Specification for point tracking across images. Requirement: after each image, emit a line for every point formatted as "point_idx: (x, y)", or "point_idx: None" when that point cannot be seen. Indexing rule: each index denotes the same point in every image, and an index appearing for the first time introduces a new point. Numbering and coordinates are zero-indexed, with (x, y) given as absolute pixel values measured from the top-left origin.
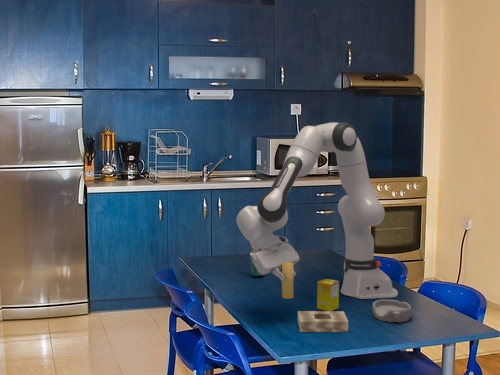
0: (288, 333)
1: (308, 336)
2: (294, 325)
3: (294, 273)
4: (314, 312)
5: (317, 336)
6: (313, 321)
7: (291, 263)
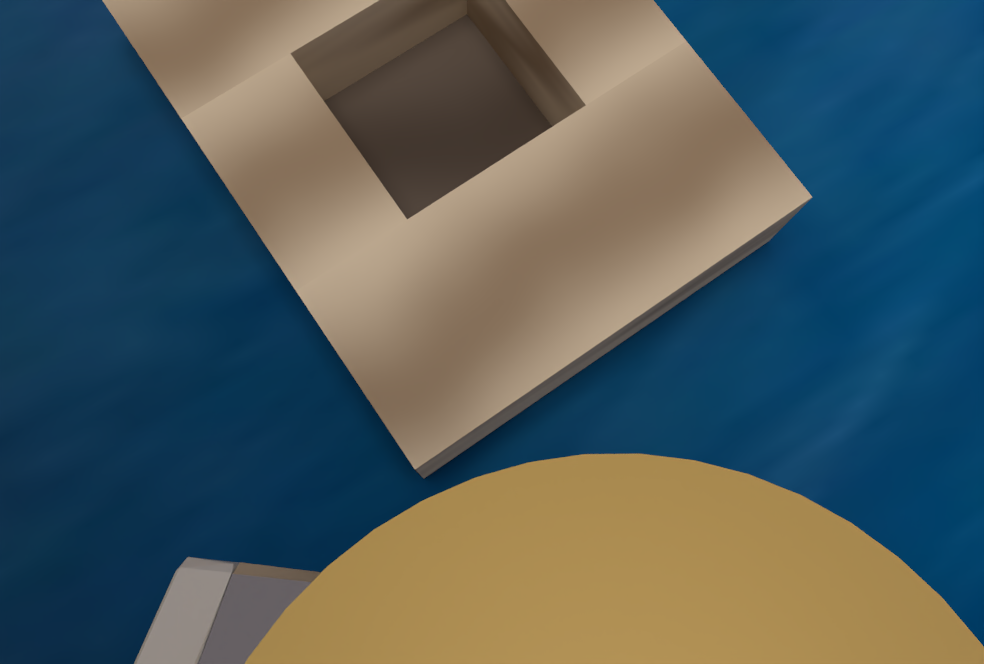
0: (897, 320)
1: (835, 98)
2: (605, 415)
3: (231, 588)
4: (340, 241)
5: (773, 26)
6: (697, 70)
7: (518, 609)
